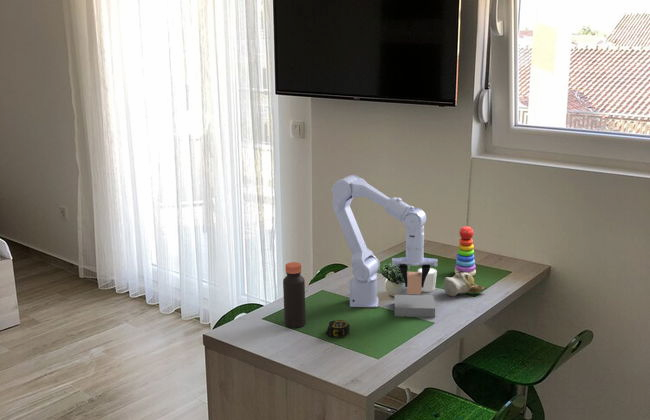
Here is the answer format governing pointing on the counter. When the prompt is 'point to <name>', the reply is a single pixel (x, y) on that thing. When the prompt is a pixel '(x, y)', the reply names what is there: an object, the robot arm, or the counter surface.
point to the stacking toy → (466, 252)
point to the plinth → (414, 305)
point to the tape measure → (338, 328)
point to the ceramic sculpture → (461, 284)
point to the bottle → (294, 296)
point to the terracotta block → (414, 282)
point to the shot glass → (429, 280)
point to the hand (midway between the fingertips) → (414, 286)
